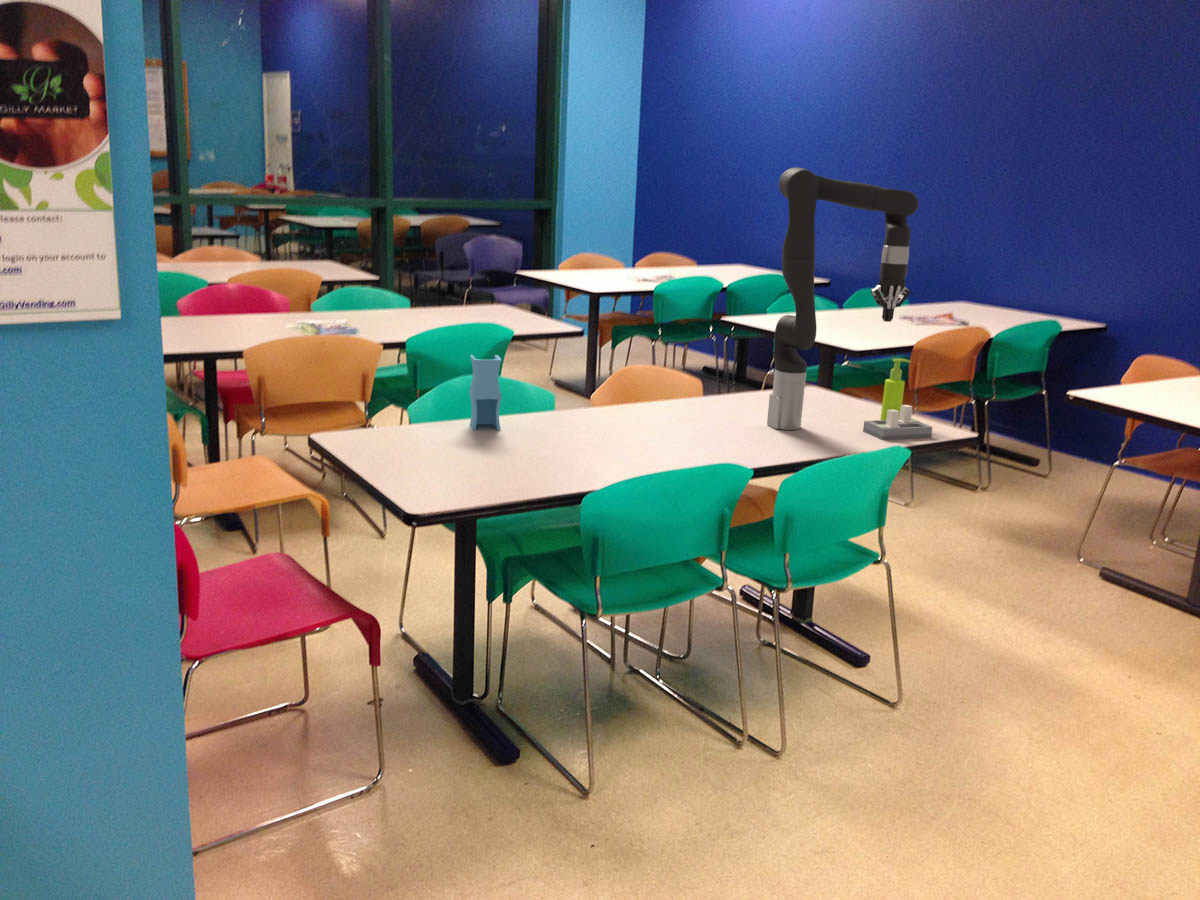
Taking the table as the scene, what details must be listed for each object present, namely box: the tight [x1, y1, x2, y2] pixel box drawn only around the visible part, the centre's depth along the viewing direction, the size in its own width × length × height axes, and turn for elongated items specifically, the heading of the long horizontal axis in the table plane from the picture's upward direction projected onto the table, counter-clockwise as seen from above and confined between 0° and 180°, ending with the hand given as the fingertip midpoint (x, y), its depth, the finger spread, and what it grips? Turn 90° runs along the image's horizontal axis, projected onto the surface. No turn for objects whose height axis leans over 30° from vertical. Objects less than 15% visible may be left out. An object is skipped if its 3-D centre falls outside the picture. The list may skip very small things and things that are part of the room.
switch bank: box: [862, 418, 933, 441], centre depth 306 cm, size 17×10×3 cm, turn 110°
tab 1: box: [883, 409, 900, 428], centre depth 302 cm, size 4×3×7 cm
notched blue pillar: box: [469, 354, 503, 432], centre depth 289 cm, size 8×8×20 cm
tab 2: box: [898, 404, 913, 423], centre depth 309 cm, size 4×3×7 cm
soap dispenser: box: [879, 358, 912, 420], centre depth 319 cm, size 6×7×20 cm
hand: (887, 321), depth 302 cm, fingers closed
